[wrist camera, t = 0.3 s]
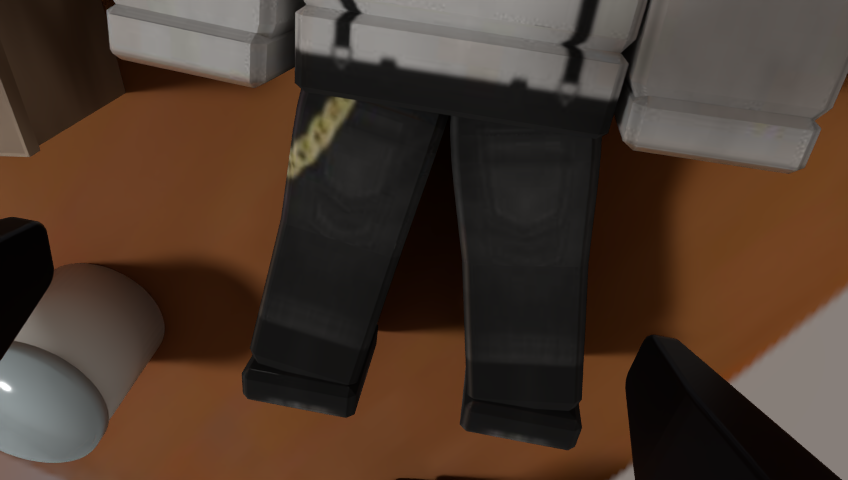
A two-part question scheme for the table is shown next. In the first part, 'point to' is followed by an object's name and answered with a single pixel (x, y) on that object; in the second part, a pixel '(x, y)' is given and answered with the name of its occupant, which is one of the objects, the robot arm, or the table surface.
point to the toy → (483, 159)
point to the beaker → (75, 362)
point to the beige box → (52, 69)
